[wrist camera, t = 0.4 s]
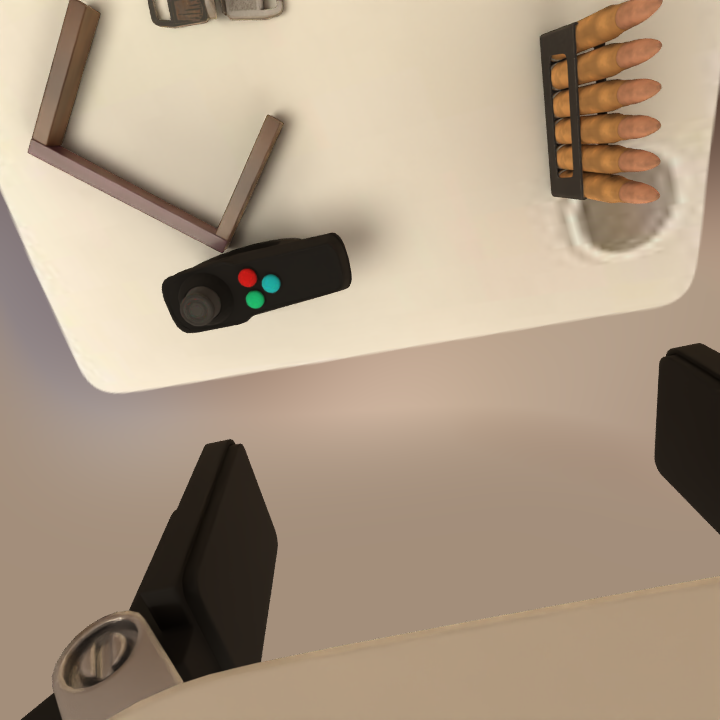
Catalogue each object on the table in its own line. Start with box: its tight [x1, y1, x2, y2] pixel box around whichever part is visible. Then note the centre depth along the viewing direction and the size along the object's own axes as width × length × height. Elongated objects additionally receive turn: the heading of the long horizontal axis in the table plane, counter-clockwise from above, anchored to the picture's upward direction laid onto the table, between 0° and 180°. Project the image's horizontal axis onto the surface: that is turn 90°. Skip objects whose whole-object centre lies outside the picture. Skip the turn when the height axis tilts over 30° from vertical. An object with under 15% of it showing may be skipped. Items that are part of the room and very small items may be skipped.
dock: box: [28, 0, 284, 253], centre depth 34 cm, size 10×14×2 cm
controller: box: [162, 233, 352, 333], centre depth 34 cm, size 4×12×10 cm, turn 104°
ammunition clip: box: [540, 0, 663, 204], centre depth 29 cm, size 11×2×12 cm, turn 14°
